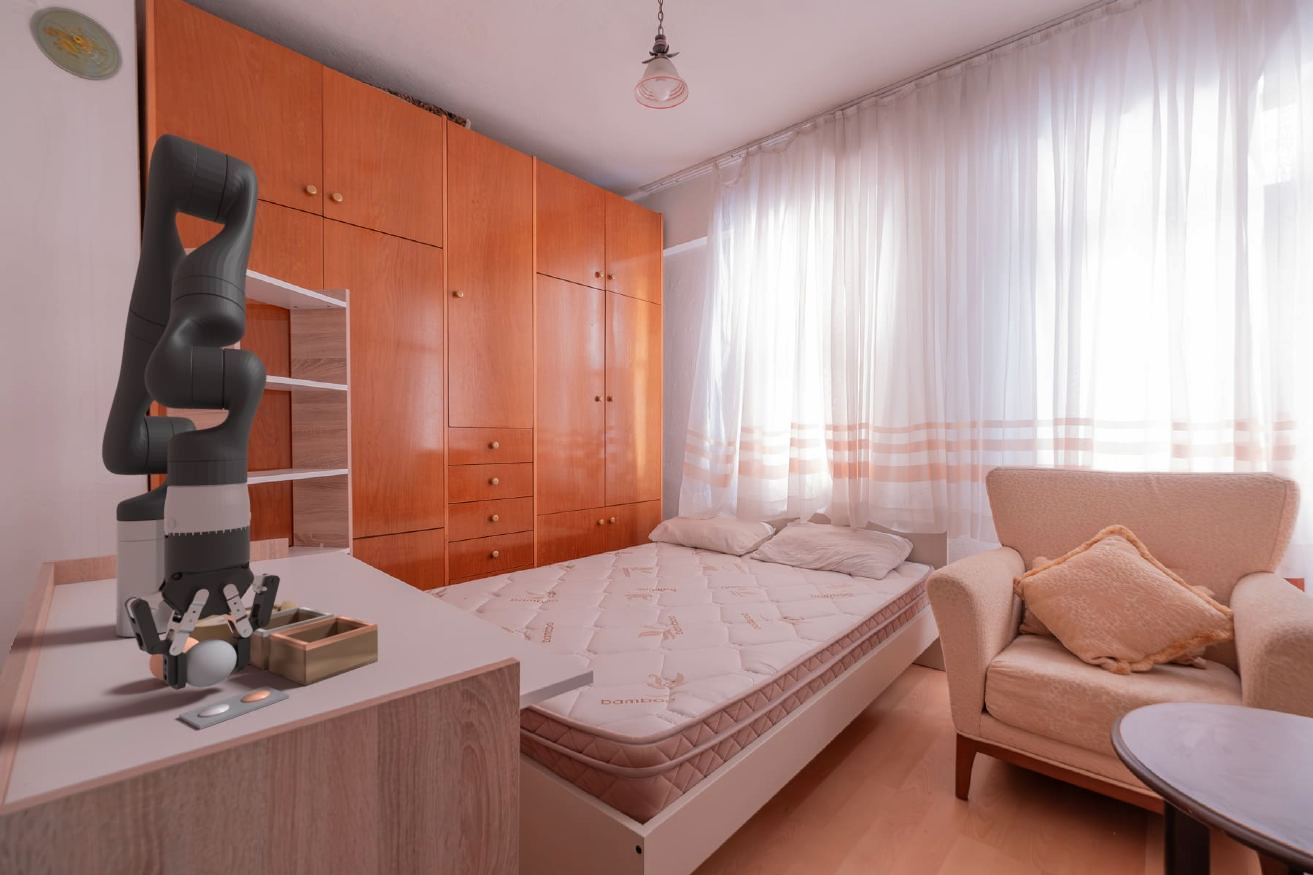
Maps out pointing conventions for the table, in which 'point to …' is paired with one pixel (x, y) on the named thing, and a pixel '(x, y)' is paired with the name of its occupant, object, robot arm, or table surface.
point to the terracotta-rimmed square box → (322, 649)
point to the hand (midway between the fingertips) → (208, 677)
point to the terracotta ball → (157, 659)
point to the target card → (232, 707)
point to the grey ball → (209, 662)
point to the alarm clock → (225, 624)
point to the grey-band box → (279, 623)
